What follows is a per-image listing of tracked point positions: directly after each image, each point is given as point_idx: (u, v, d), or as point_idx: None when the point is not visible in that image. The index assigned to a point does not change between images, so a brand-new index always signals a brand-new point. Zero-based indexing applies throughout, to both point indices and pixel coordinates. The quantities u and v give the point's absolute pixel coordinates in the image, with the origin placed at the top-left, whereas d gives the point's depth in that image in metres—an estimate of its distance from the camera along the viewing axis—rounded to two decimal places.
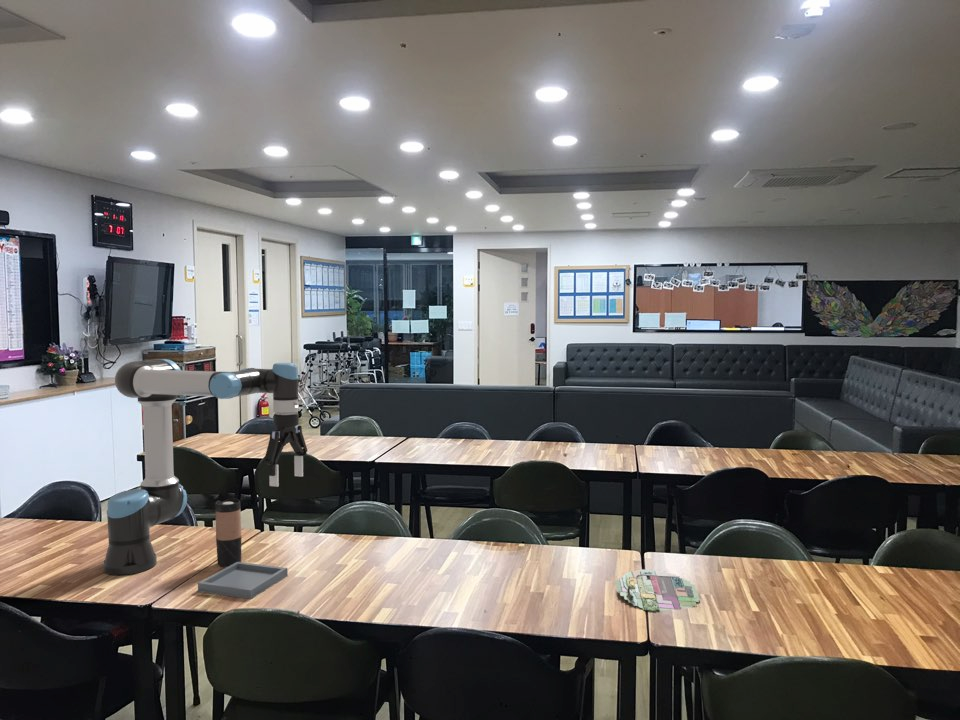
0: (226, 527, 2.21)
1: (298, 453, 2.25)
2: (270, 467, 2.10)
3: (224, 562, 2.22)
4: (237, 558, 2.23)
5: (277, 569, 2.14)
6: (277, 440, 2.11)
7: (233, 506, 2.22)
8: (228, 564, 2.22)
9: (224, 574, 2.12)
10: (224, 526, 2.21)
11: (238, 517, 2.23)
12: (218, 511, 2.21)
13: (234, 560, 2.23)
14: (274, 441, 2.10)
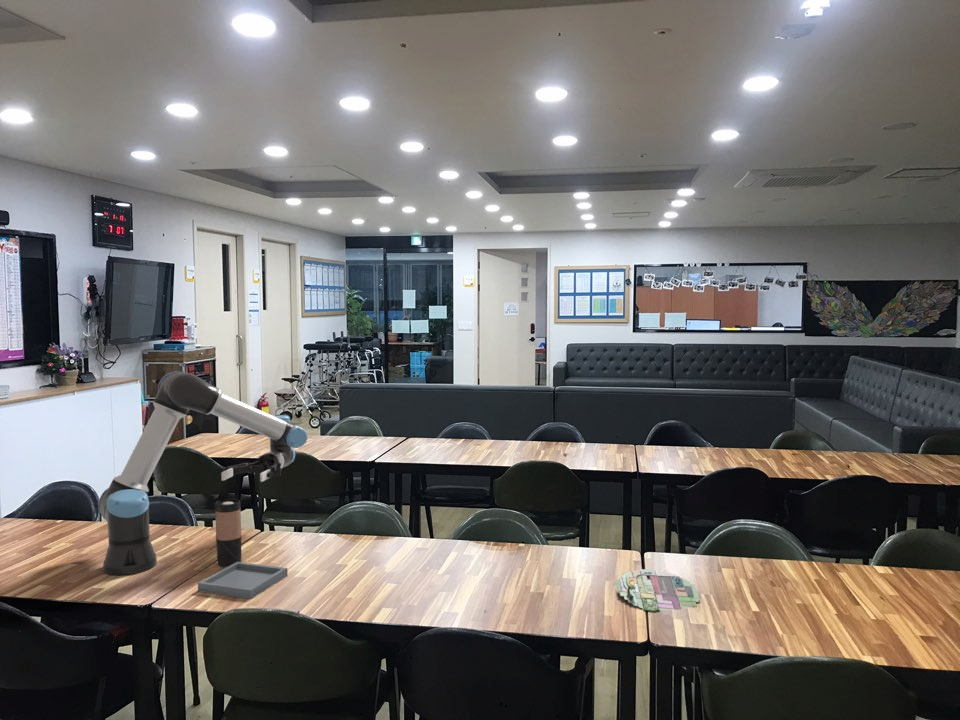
0: (226, 527, 2.21)
1: None
2: (273, 473, 2.38)
3: (224, 562, 2.22)
4: (237, 558, 2.23)
5: (277, 569, 2.14)
6: None
7: (233, 506, 2.22)
8: (228, 564, 2.22)
9: (224, 574, 2.12)
10: (224, 526, 2.21)
11: (238, 517, 2.23)
12: (218, 511, 2.21)
13: (234, 560, 2.23)
14: None
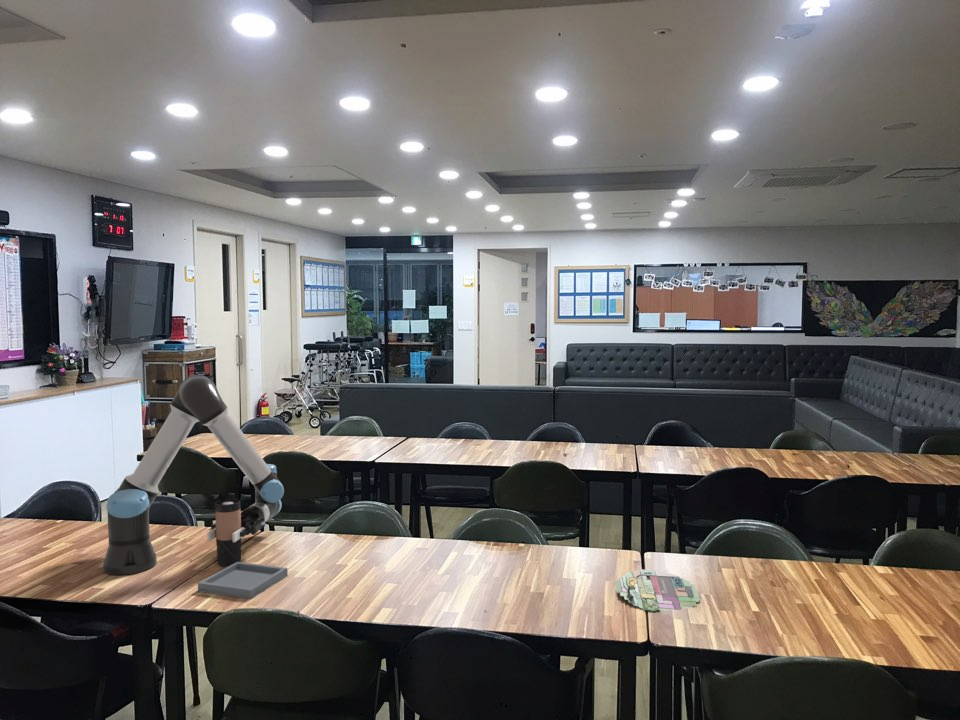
0: (226, 527, 2.21)
1: None
2: (247, 531, 2.25)
3: (224, 562, 2.22)
4: (237, 558, 2.23)
5: (277, 569, 2.14)
6: None
7: (233, 506, 2.22)
8: (228, 564, 2.22)
9: (224, 574, 2.12)
10: (224, 526, 2.21)
11: (238, 517, 2.23)
12: (218, 511, 2.21)
13: (234, 560, 2.23)
14: (260, 526, 2.33)
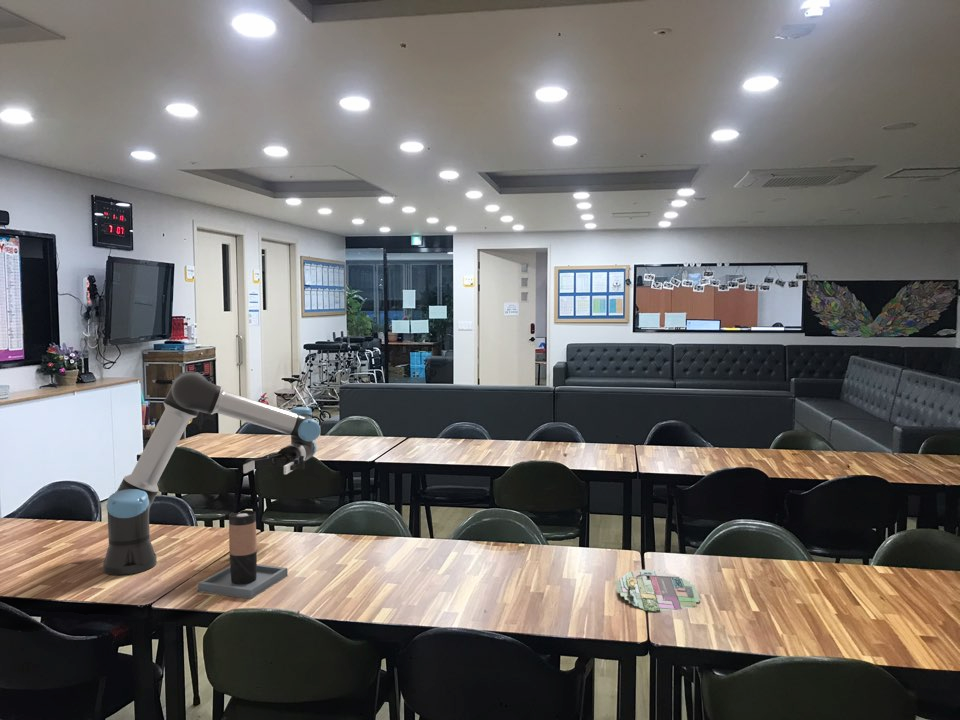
0: (240, 541, 2.04)
1: None
2: (296, 465, 2.29)
3: (238, 579, 2.05)
4: (252, 575, 2.07)
5: (277, 569, 2.14)
6: None
7: (248, 518, 2.05)
8: (243, 581, 2.05)
9: (224, 574, 2.12)
10: (238, 540, 2.04)
11: (253, 530, 2.06)
12: (232, 524, 2.04)
13: (249, 577, 2.06)
14: None
